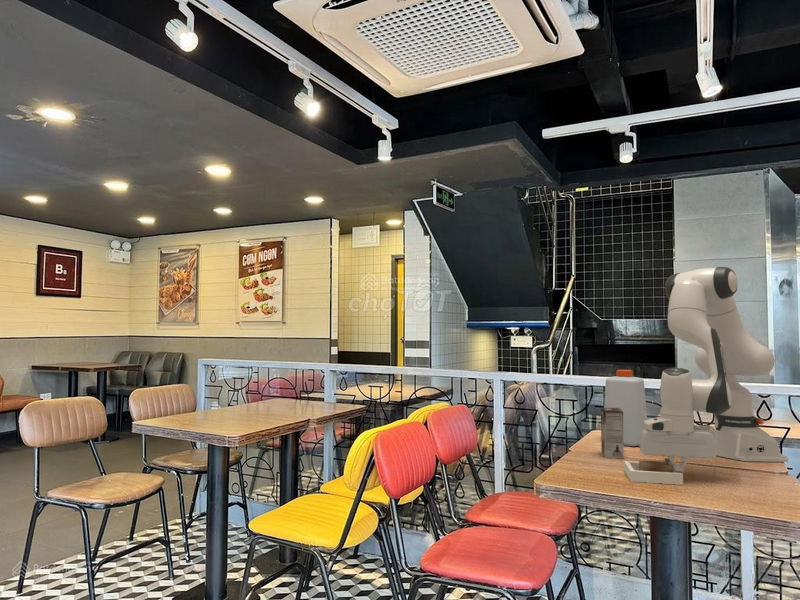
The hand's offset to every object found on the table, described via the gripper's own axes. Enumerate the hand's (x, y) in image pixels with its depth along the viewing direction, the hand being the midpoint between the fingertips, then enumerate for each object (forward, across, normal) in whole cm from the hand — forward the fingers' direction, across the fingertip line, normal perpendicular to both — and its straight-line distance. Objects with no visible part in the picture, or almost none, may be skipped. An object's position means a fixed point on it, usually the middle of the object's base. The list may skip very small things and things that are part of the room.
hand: (677, 471), depth 166 cm
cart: (+2, +6, 0) cm, 6 cm away
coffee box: (+2, +14, -28) cm, 32 cm away
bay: (+2, +7, 0) cm, 7 cm away
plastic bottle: (+2, +6, -54) cm, 55 cm away
